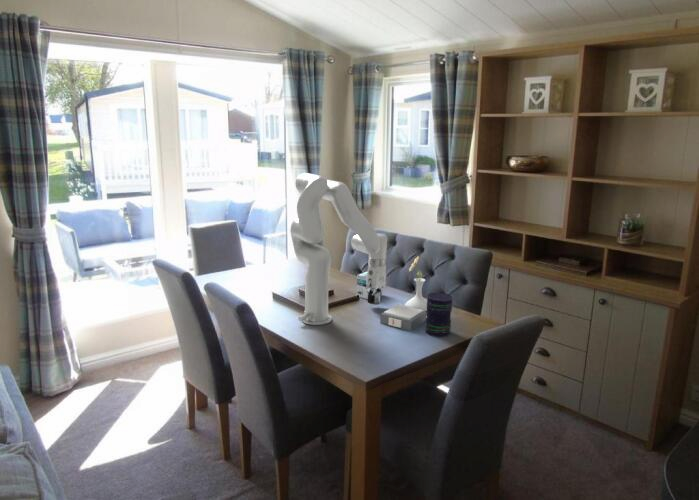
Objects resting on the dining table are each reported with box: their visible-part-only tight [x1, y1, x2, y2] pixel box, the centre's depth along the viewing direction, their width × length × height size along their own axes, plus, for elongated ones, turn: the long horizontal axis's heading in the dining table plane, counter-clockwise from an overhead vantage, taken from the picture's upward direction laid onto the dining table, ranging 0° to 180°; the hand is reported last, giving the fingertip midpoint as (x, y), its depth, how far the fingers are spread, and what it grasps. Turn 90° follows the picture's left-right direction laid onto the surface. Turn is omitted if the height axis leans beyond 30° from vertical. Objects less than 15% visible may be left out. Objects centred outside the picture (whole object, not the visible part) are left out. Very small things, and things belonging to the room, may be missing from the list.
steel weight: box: [369, 290, 382, 306], centre depth 234 cm, size 5×5×5 cm
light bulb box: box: [356, 271, 376, 300], centre depth 251 cm, size 11×7×11 cm, turn 143°
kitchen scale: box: [379, 304, 427, 332], centre depth 218 cm, size 15×14×5 cm
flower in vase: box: [404, 256, 427, 312], centre depth 231 cm, size 13×11×25 cm
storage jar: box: [424, 292, 453, 338], centre depth 207 cm, size 10×10×15 cm
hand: (374, 301), depth 234 cm, fingers closed on steel weight, 5 cm apart
